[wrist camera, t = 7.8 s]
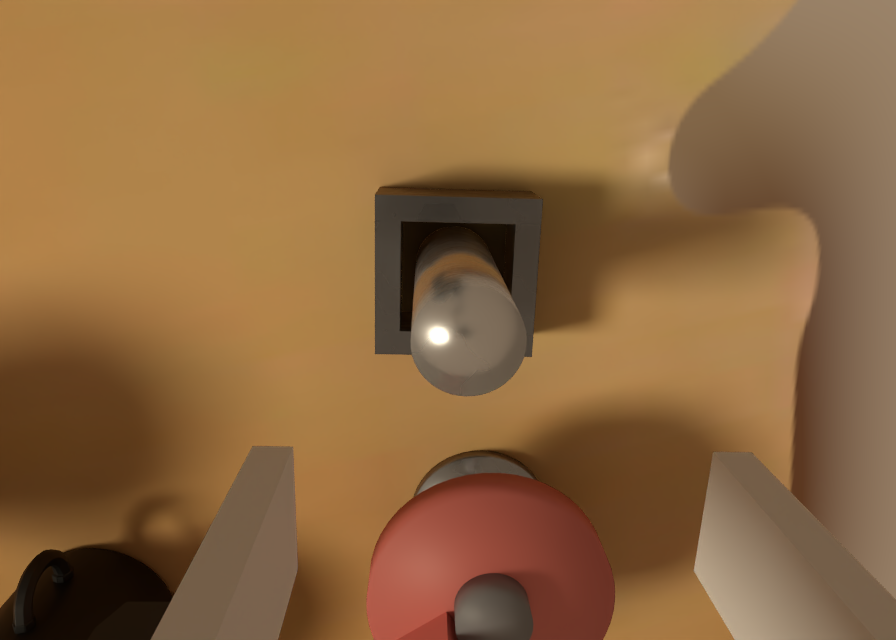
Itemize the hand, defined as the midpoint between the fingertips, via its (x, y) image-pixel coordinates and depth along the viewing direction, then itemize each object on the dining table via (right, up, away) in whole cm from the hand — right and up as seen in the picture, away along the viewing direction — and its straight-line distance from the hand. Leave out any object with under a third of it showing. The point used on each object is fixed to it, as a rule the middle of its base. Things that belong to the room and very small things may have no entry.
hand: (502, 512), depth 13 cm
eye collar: (-1, +7, +22) cm, 23 cm away
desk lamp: (-2, -11, +21) cm, 24 cm away
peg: (-1, +7, +22) cm, 23 cm away
